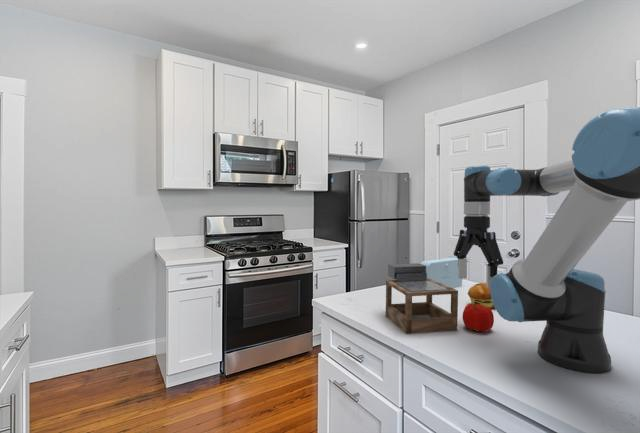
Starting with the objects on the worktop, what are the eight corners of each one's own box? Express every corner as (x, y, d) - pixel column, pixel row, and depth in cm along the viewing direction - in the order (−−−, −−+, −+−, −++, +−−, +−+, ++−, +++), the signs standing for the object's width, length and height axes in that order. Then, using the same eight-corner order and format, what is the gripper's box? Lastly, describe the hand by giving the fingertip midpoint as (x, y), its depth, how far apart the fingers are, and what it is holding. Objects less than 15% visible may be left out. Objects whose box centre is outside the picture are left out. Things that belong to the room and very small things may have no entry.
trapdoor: (386, 280, 125) (386, 264, 125) (419, 278, 127) (419, 263, 127) (410, 294, 106) (410, 275, 106) (448, 292, 108) (449, 274, 108)
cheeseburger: (506, 307, 130) (502, 283, 128) (485, 317, 126) (481, 292, 125) (484, 300, 139) (481, 277, 138) (464, 309, 136) (460, 285, 134)
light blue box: (430, 293, 151) (430, 263, 150) (420, 290, 155) (420, 261, 155) (463, 286, 163) (464, 259, 162) (453, 284, 168) (453, 257, 167)
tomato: (478, 322, 114) (478, 300, 113) (499, 332, 105) (500, 308, 105) (454, 326, 111) (455, 303, 111) (475, 336, 102) (475, 311, 102)
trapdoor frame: (457, 329, 107) (458, 290, 107) (407, 333, 104) (407, 293, 104) (429, 312, 124) (430, 278, 124) (385, 315, 121) (386, 280, 120)
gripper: (517, 216, 96) (516, 291, 97) (462, 214, 121) (461, 274, 121) (495, 216, 95) (494, 292, 95) (443, 214, 119) (442, 275, 119)
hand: (476, 282), depth 108 cm, fingers open, 13 cm apart
